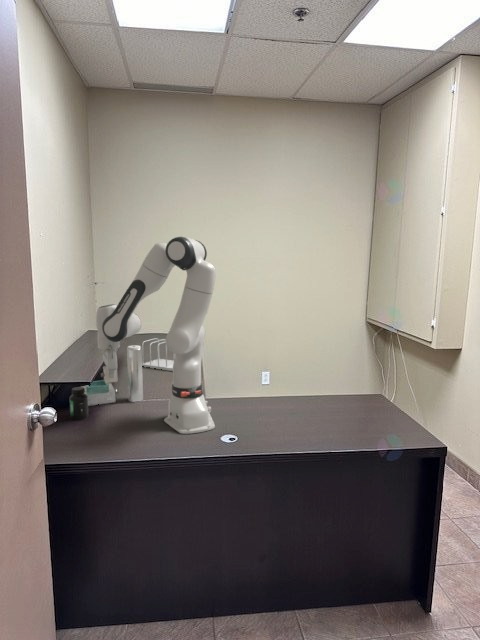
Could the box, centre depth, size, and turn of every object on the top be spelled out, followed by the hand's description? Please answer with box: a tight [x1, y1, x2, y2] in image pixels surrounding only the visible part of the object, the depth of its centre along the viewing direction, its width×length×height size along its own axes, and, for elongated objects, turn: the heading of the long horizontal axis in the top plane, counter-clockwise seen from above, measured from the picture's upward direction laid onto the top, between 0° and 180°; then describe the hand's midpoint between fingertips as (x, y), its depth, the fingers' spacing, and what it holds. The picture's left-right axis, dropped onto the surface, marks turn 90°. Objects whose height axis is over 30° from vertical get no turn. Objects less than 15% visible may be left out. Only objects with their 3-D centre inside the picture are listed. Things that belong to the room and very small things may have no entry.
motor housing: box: [80, 379, 119, 407], centre depth 189 cm, size 14×16×8 cm
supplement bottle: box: [68, 386, 89, 421], centre depth 167 cm, size 7×7×12 cm
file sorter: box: [141, 337, 176, 372], centre depth 249 cm, size 25×17×16 cm
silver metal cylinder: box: [126, 344, 144, 403], centre depth 188 cm, size 6×6×25 cm
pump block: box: [100, 365, 119, 384], centre depth 174 cm, size 5×6×6 cm
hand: (110, 375), depth 174 cm, fingers closed on pump block, 5 cm apart
